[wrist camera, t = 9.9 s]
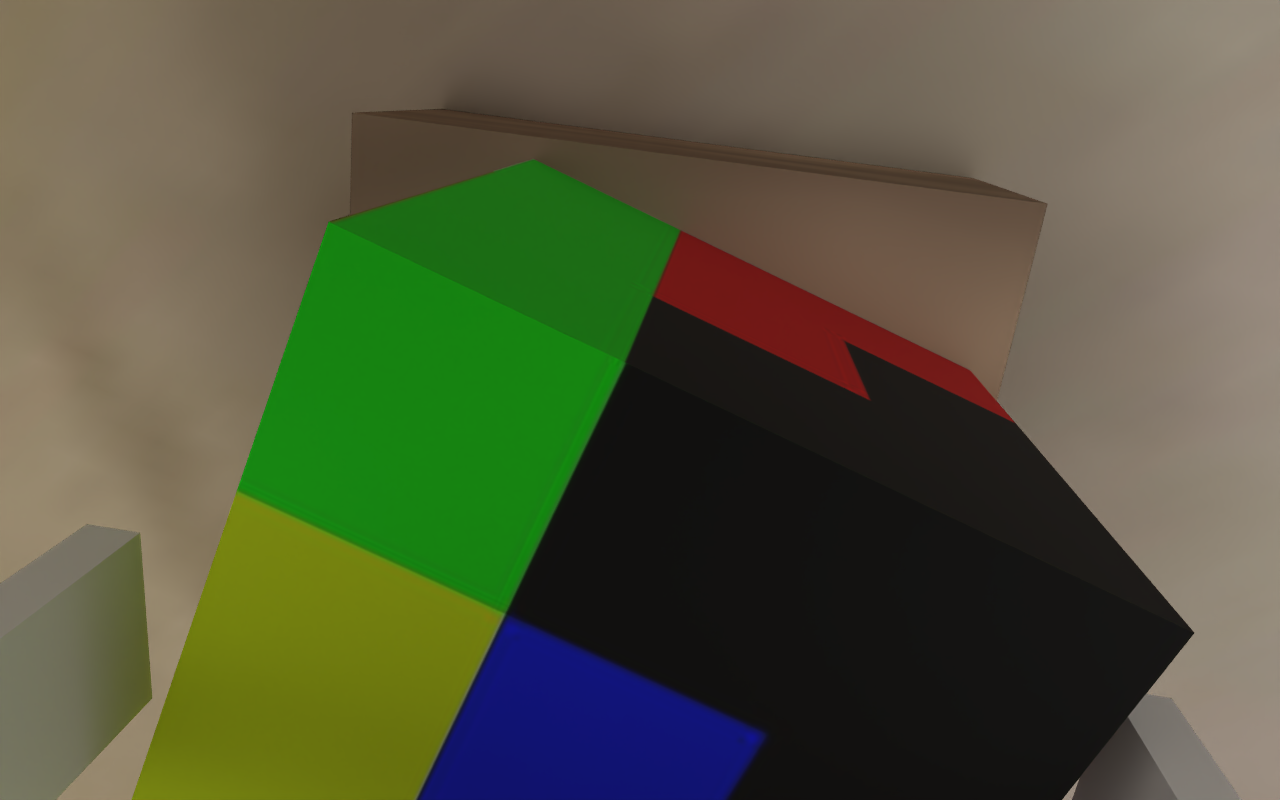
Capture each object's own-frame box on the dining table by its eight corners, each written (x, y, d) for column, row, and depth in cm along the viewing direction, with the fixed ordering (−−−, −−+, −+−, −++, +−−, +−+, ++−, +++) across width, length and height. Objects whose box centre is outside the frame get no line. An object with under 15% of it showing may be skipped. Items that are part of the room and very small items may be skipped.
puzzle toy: (750, 724, 23) (760, 1179, 13) (373, 551, 22) (100, 892, 13) (970, 370, 19) (1194, 633, 10) (533, 159, 19) (328, 221, 9)
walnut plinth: (441, 109, 25) (352, 112, 19) (973, 178, 24) (1048, 203, 18) (418, 574, 29) (340, 689, 23) (865, 645, 28) (898, 783, 23)
